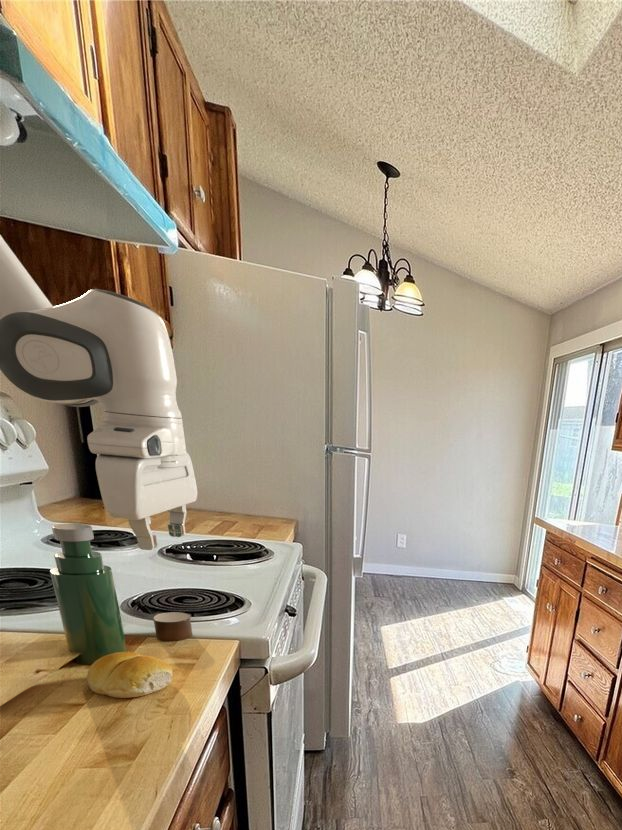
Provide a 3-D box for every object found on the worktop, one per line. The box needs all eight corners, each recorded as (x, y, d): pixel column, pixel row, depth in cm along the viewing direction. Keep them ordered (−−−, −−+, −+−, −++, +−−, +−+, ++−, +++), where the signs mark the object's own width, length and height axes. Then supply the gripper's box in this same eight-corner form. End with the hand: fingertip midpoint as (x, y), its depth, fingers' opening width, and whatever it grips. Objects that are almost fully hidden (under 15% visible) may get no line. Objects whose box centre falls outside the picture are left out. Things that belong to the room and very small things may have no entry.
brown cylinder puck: (150, 640, 83) (147, 621, 82) (164, 629, 87) (161, 611, 86) (184, 641, 84) (182, 623, 82) (197, 631, 88) (195, 613, 87)
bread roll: (131, 666, 74) (126, 638, 73) (185, 681, 72) (181, 652, 71) (70, 689, 67) (62, 659, 65) (128, 706, 65) (122, 675, 63)
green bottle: (59, 663, 73) (26, 528, 66) (87, 645, 79) (59, 519, 72) (112, 665, 74) (85, 533, 67) (136, 648, 80) (113, 524, 73)
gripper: (157, 434, 83) (171, 528, 89) (77, 438, 65) (102, 555, 71) (202, 439, 84) (213, 531, 90) (136, 443, 66) (155, 559, 72)
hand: (163, 542), depth 80 cm, fingers open, 8 cm apart
